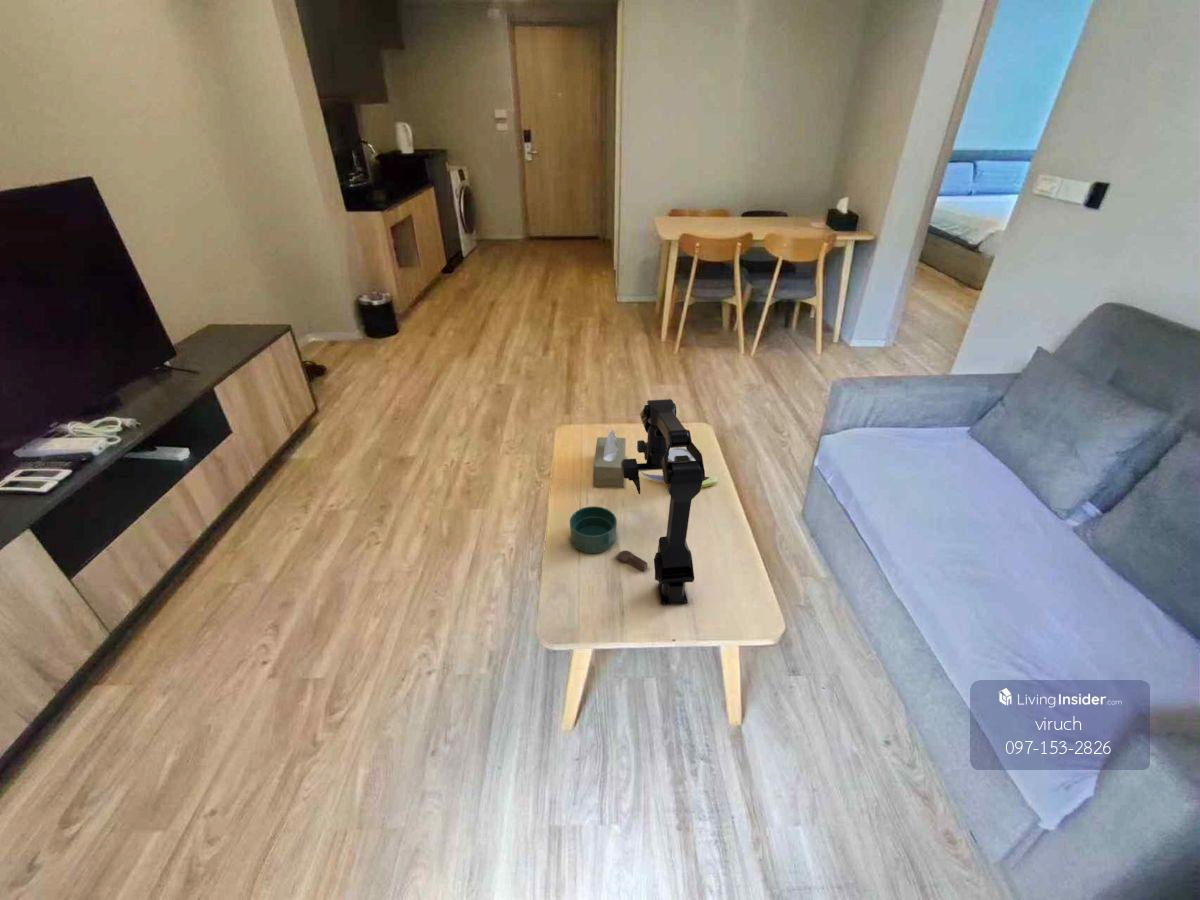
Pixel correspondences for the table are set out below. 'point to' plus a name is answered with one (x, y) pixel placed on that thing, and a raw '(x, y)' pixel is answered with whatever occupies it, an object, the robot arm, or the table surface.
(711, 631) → the table surface
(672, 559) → the robot arm
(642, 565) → the spoon
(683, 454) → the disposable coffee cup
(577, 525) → the bucket
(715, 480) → the yellow curved piece
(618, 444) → the tissue box
